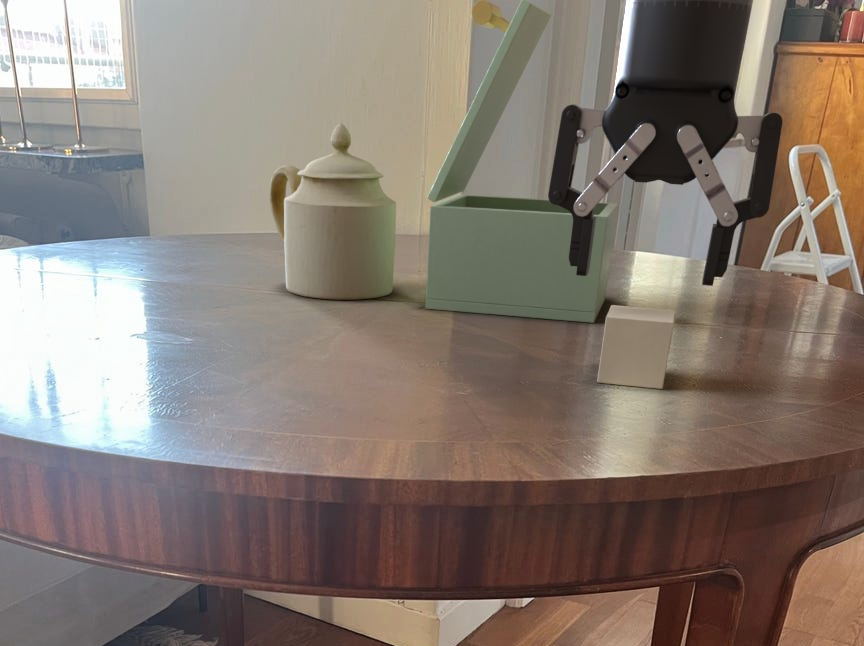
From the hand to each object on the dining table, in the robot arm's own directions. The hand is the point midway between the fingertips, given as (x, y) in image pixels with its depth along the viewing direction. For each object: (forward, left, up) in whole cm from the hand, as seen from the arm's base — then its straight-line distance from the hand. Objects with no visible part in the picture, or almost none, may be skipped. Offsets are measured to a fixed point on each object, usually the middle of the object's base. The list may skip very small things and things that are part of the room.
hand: (643, 279), depth 66 cm
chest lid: (+6, -29, +10) cm, 31 cm away
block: (0, 0, -7) cm, 7 cm away
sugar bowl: (+21, -35, -7) cm, 41 cm away
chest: (+2, -28, -7) cm, 29 cm away
